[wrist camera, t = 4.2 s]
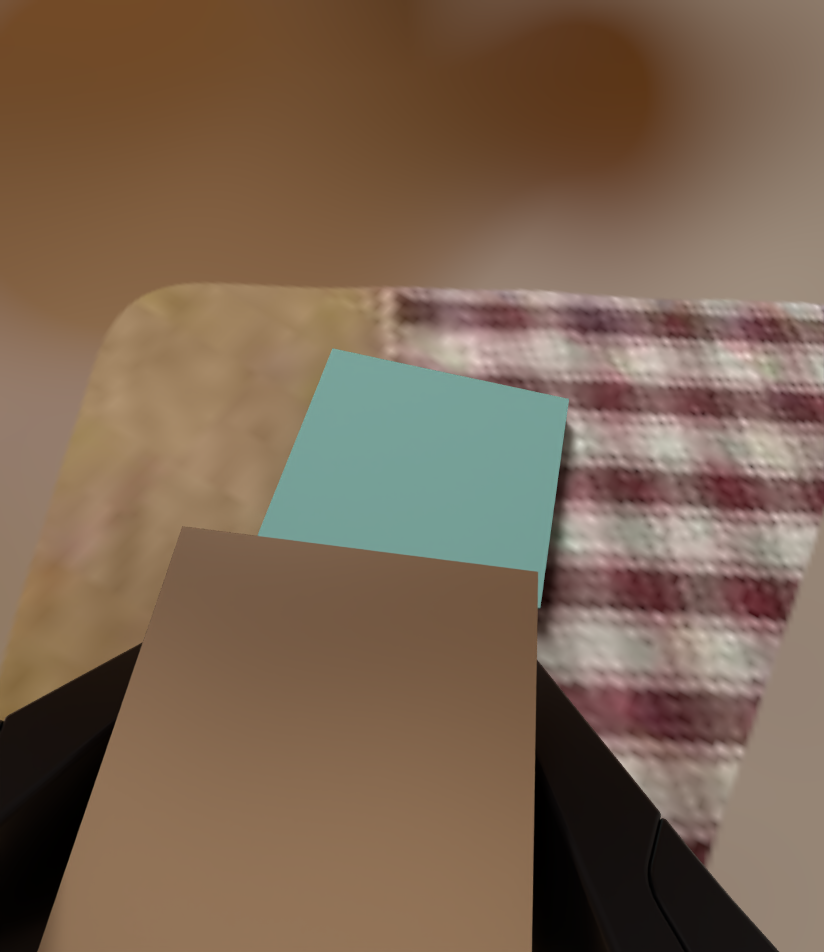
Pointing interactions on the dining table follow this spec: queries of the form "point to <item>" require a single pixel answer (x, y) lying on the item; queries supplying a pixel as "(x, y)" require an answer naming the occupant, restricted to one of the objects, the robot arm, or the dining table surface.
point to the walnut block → (315, 760)
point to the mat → (423, 466)
